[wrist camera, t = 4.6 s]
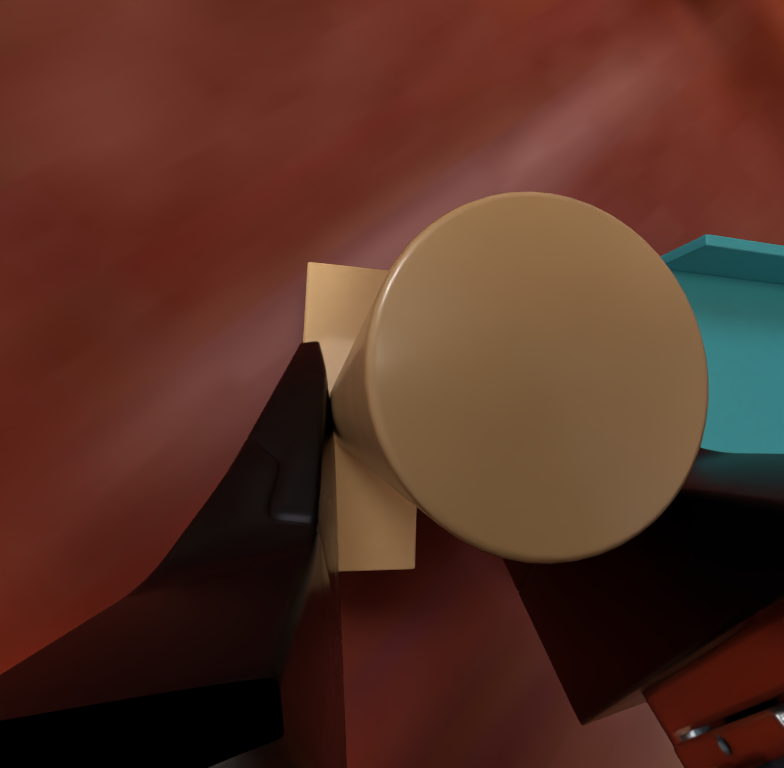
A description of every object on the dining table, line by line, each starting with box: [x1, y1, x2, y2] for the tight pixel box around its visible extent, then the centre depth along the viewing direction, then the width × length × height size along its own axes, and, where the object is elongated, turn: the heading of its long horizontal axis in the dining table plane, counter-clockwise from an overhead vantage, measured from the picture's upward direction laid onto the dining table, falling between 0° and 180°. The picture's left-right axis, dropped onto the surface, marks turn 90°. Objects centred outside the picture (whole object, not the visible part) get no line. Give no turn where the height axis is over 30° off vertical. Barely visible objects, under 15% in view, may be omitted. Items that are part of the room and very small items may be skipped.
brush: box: [303, 192, 709, 572], centre depth 9 cm, size 4×10×13 cm, turn 178°
